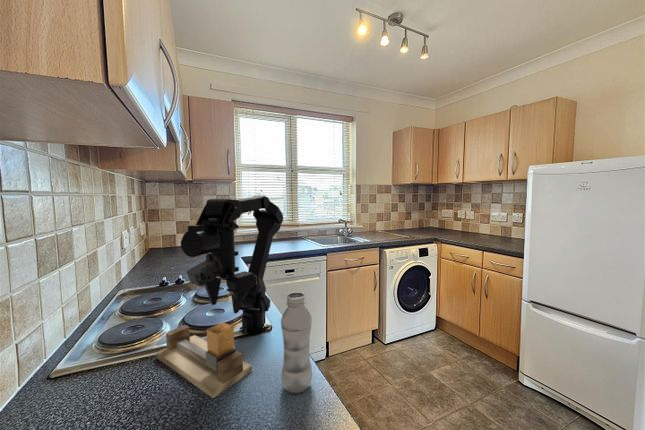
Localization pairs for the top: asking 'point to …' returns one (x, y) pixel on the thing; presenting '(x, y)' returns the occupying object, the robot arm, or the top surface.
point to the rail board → (201, 362)
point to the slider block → (219, 344)
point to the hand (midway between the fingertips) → (224, 308)
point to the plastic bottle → (296, 344)
